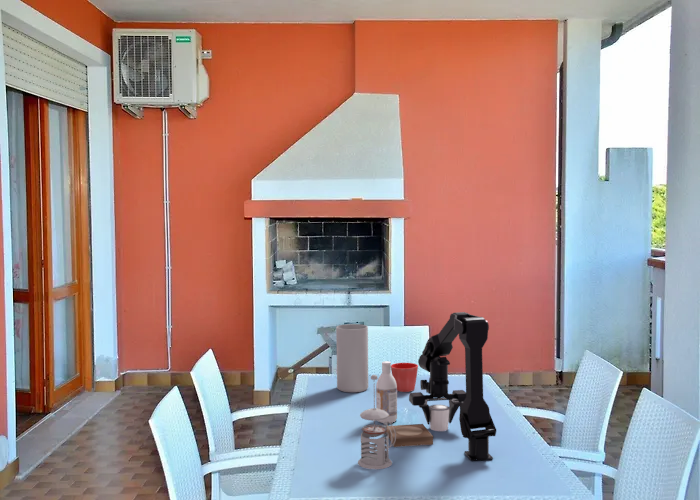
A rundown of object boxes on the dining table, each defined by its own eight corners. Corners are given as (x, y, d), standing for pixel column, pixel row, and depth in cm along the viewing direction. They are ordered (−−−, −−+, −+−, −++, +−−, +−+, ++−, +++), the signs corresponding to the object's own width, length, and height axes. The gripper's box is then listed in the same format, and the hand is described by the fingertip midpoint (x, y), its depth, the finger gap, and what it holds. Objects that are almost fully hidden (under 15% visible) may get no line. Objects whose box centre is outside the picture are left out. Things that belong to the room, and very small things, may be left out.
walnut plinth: (433, 444, 200) (433, 435, 199) (394, 447, 198) (394, 438, 198) (422, 431, 211) (422, 423, 211) (386, 433, 210) (386, 425, 209)
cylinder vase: (332, 391, 259) (332, 328, 258) (342, 383, 271) (341, 323, 270) (363, 394, 256) (362, 330, 254) (371, 385, 268) (371, 324, 266)
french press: (371, 453, 193) (370, 369, 191) (404, 462, 185) (403, 374, 184) (350, 463, 185) (349, 375, 184) (383, 473, 178) (382, 382, 176)
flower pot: (386, 388, 264) (385, 364, 264) (409, 384, 269) (409, 361, 268) (398, 394, 255) (398, 369, 254) (423, 391, 259) (423, 366, 259)
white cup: (449, 432, 210) (449, 410, 210) (427, 431, 212) (427, 409, 211) (450, 425, 217) (450, 404, 217) (429, 424, 218) (429, 403, 218)
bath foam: (373, 418, 225) (373, 360, 224) (392, 416, 227) (392, 359, 226) (380, 424, 219) (380, 365, 217) (400, 422, 221) (399, 363, 219)
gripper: (458, 369, 223) (458, 414, 224) (404, 371, 220) (405, 417, 221) (469, 377, 212) (469, 424, 213) (413, 380, 209) (413, 428, 210)
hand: (439, 423), depth 214 cm, fingers open, 7 cm apart
